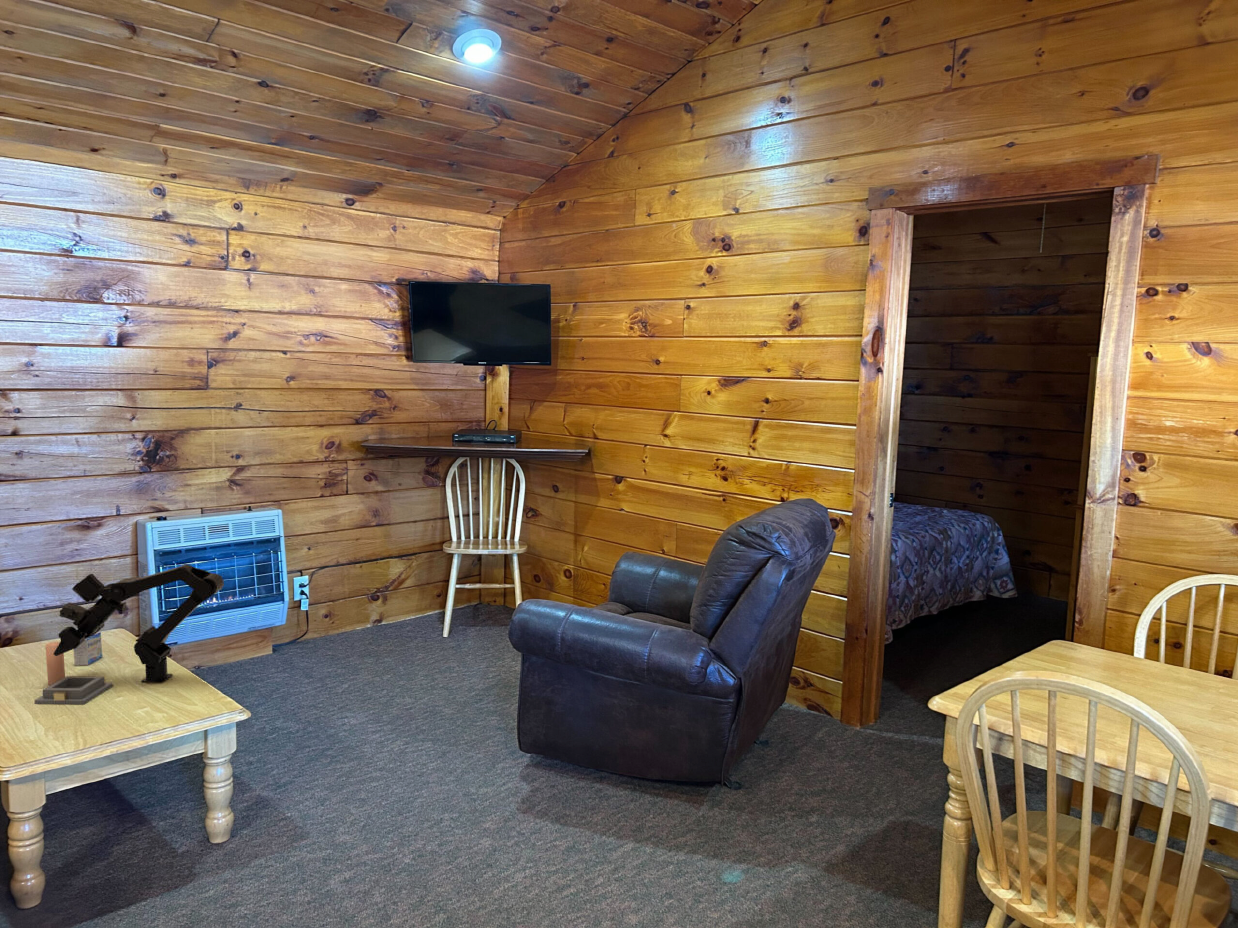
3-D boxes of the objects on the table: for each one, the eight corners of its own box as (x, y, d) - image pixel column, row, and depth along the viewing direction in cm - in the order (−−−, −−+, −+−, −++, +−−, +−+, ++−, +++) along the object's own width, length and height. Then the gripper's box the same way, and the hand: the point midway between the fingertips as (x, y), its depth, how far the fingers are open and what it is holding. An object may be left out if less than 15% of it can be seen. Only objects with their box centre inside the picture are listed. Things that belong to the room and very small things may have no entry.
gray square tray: (65, 685, 263) (65, 674, 263) (112, 685, 263) (112, 674, 263) (34, 703, 249) (33, 691, 249) (84, 704, 249) (83, 692, 249)
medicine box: (87, 665, 280) (86, 639, 279) (74, 665, 280) (72, 638, 279) (102, 657, 288) (101, 631, 287) (89, 657, 288) (87, 631, 287)
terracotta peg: (54, 680, 267) (51, 641, 266) (68, 680, 267) (66, 641, 266) (44, 685, 263) (42, 646, 262) (59, 685, 263) (56, 646, 262)
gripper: (91, 586, 272) (54, 622, 272) (64, 603, 254) (24, 641, 254) (120, 610, 275) (83, 646, 274) (95, 628, 256) (55, 667, 256)
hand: (61, 649), depth 264 cm, fingers open, 9 cm apart
